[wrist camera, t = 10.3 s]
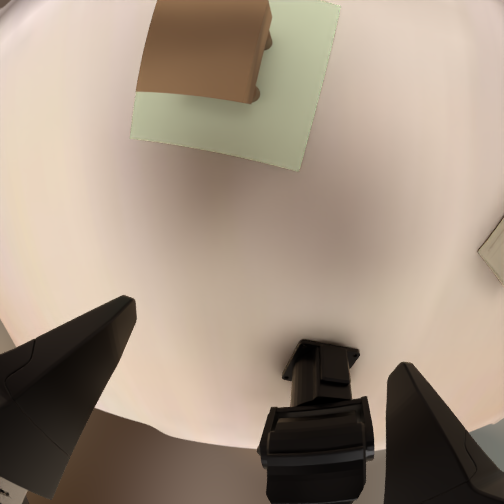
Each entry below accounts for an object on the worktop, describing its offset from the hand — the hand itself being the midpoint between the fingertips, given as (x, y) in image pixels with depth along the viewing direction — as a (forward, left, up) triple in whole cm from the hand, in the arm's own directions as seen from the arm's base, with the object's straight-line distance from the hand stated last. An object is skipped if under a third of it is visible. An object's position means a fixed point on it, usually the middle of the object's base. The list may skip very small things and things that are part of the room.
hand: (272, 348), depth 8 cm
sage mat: (+9, +6, -13) cm, 17 cm away
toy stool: (+9, +6, -12) cm, 16 cm away
